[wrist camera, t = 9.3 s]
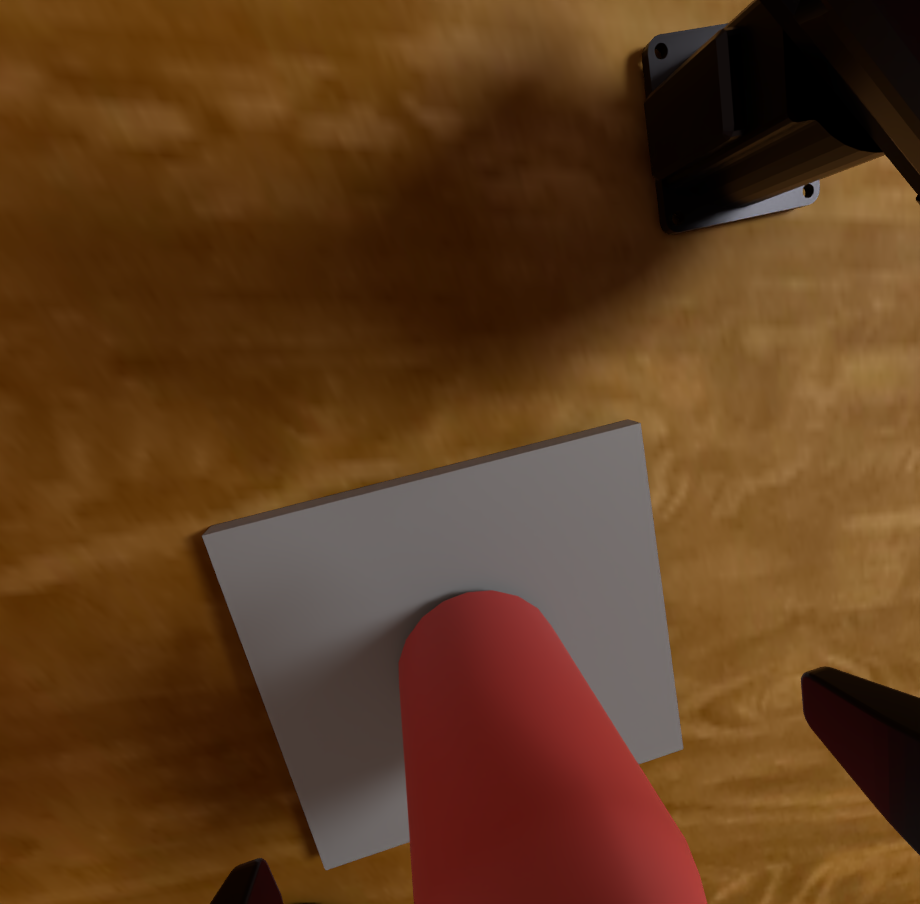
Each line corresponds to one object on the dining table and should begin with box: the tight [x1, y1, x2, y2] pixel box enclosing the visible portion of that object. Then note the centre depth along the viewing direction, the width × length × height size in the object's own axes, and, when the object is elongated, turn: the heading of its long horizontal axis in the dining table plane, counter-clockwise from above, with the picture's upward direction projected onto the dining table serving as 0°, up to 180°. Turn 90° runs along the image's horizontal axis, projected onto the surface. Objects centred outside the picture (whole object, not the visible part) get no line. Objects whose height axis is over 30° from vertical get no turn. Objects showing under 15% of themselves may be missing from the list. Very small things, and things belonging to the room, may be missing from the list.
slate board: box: [202, 420, 683, 870], centre depth 21 cm, size 17×16×1 cm
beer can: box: [398, 590, 707, 904], centre depth 15 cm, size 7×7×12 cm
